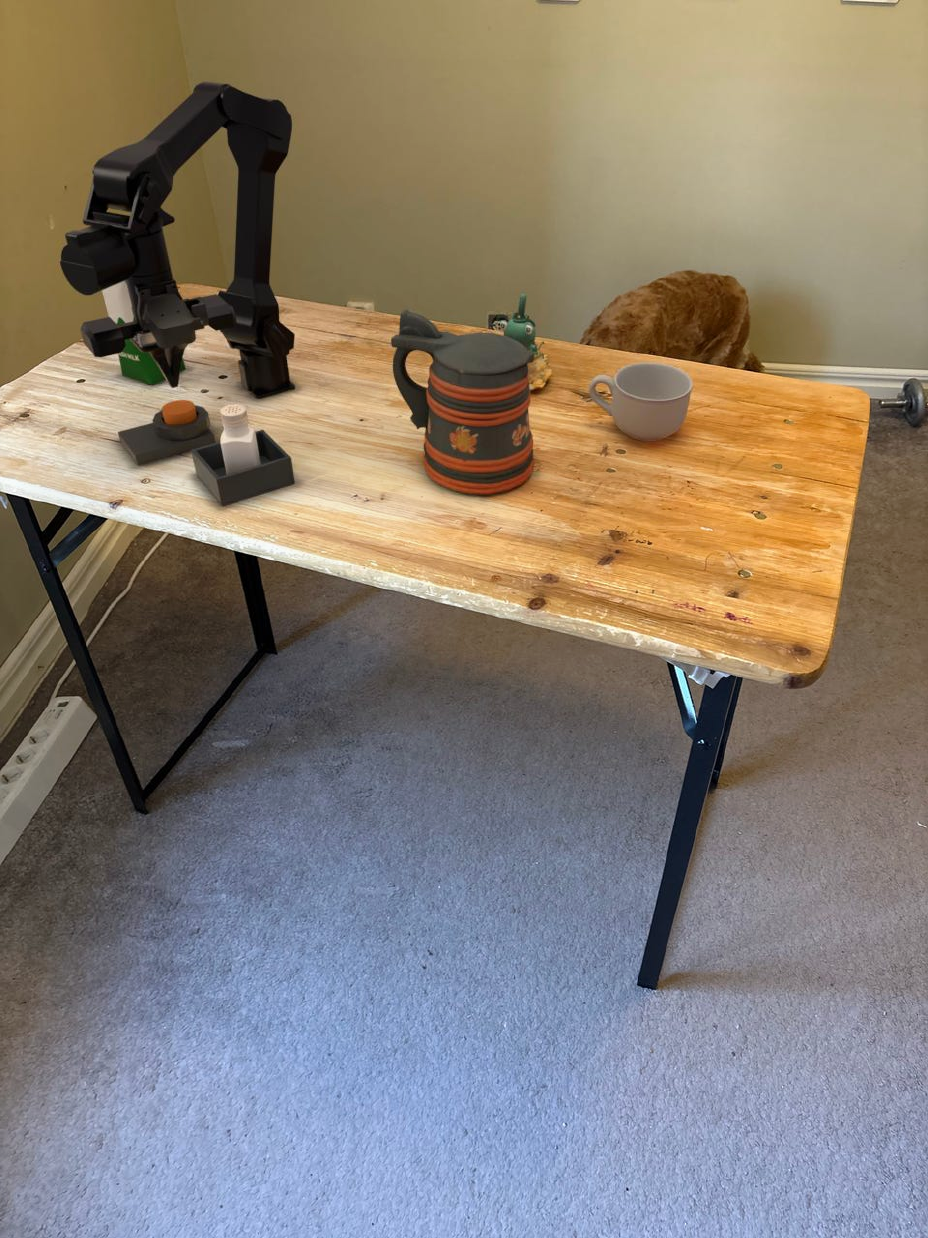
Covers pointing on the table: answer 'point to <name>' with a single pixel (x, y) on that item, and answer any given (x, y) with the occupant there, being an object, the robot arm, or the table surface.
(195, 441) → the button base
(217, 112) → the robot arm
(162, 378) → the milk carton
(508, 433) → the beer stein
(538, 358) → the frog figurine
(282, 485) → the dark grey open box
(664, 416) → the teacup
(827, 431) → the table surface
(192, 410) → the button
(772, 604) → the table surface
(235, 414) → the pepper shaker
